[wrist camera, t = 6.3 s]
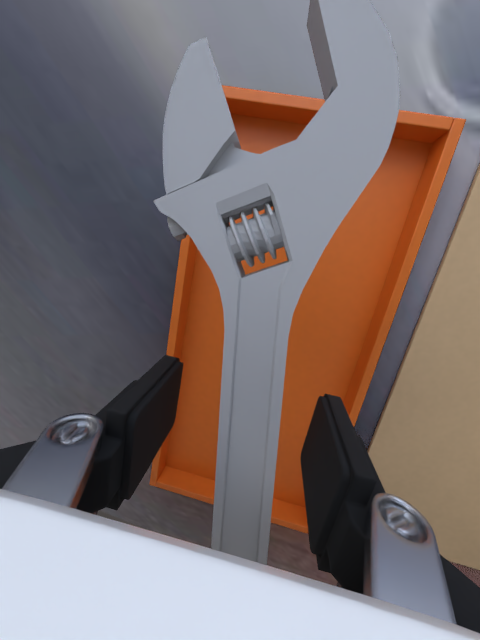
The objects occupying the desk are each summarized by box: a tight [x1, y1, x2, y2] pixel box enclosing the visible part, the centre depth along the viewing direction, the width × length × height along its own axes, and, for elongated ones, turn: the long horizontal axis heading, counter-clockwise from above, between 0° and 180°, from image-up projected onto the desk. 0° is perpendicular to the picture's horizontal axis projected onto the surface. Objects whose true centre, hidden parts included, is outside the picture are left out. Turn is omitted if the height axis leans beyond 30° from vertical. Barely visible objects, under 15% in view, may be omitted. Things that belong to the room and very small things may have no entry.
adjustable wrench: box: [154, 0, 400, 565], centre depth 10 cm, size 25×6×2 cm, turn 172°
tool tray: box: [150, 85, 466, 534], centre depth 19 cm, size 14×29×2 cm, turn 169°
